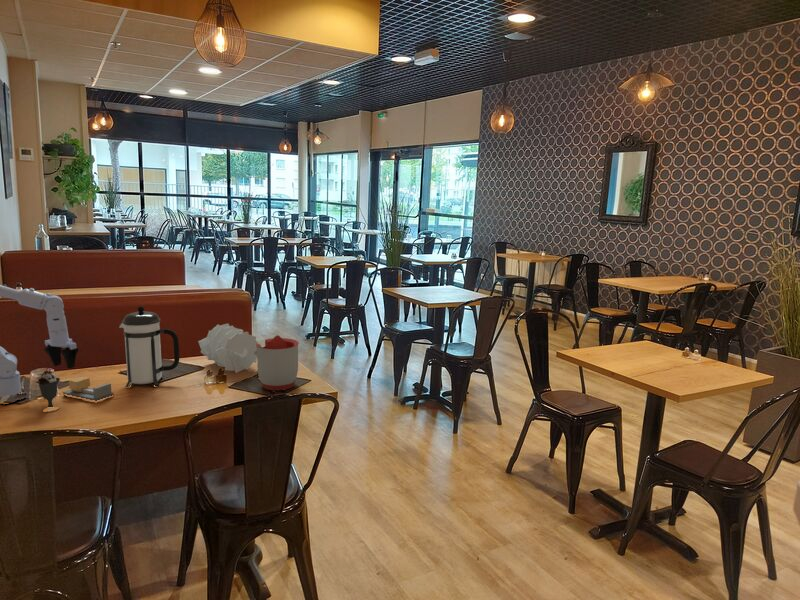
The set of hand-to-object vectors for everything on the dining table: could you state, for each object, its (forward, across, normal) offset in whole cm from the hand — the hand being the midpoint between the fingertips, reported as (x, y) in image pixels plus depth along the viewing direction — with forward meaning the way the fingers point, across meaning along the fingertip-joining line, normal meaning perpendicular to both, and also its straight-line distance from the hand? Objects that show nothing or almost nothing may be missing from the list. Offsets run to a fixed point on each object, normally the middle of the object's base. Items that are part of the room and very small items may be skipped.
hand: (64, 366), depth 200 cm
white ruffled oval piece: (+14, -28, -51) cm, 60 cm away
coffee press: (+12, -16, -21) cm, 29 cm away
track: (+10, -10, 0) cm, 14 cm away
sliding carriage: (+8, -6, 0) cm, 10 cm away
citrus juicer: (+15, -60, -42) cm, 74 cm away
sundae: (+10, -11, +14) cm, 20 cm away
